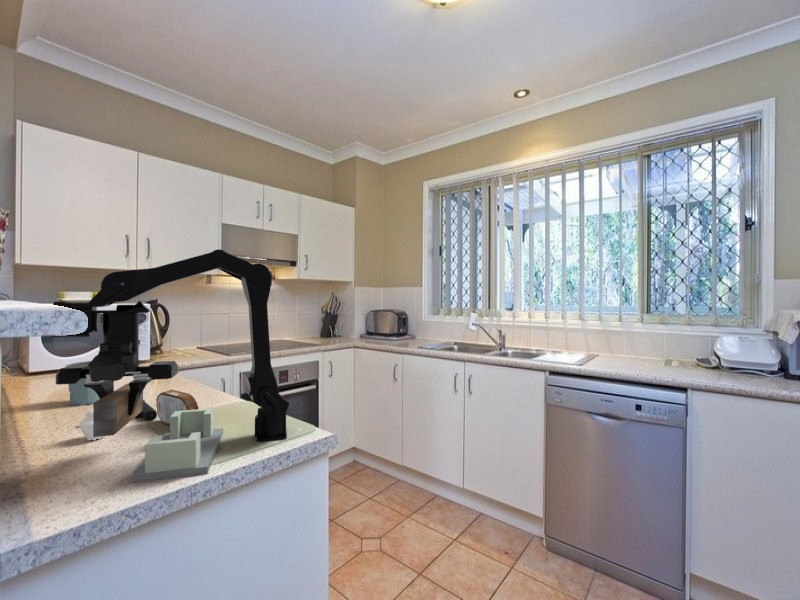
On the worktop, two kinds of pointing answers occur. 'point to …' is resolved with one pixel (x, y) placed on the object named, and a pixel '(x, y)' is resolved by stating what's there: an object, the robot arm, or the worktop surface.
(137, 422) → the worktop surface
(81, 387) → the teal plant pot
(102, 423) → the rail
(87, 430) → the muffin
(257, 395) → the robot arm
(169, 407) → the tin
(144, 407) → the door handle
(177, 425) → the post frame
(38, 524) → the worktop surface
